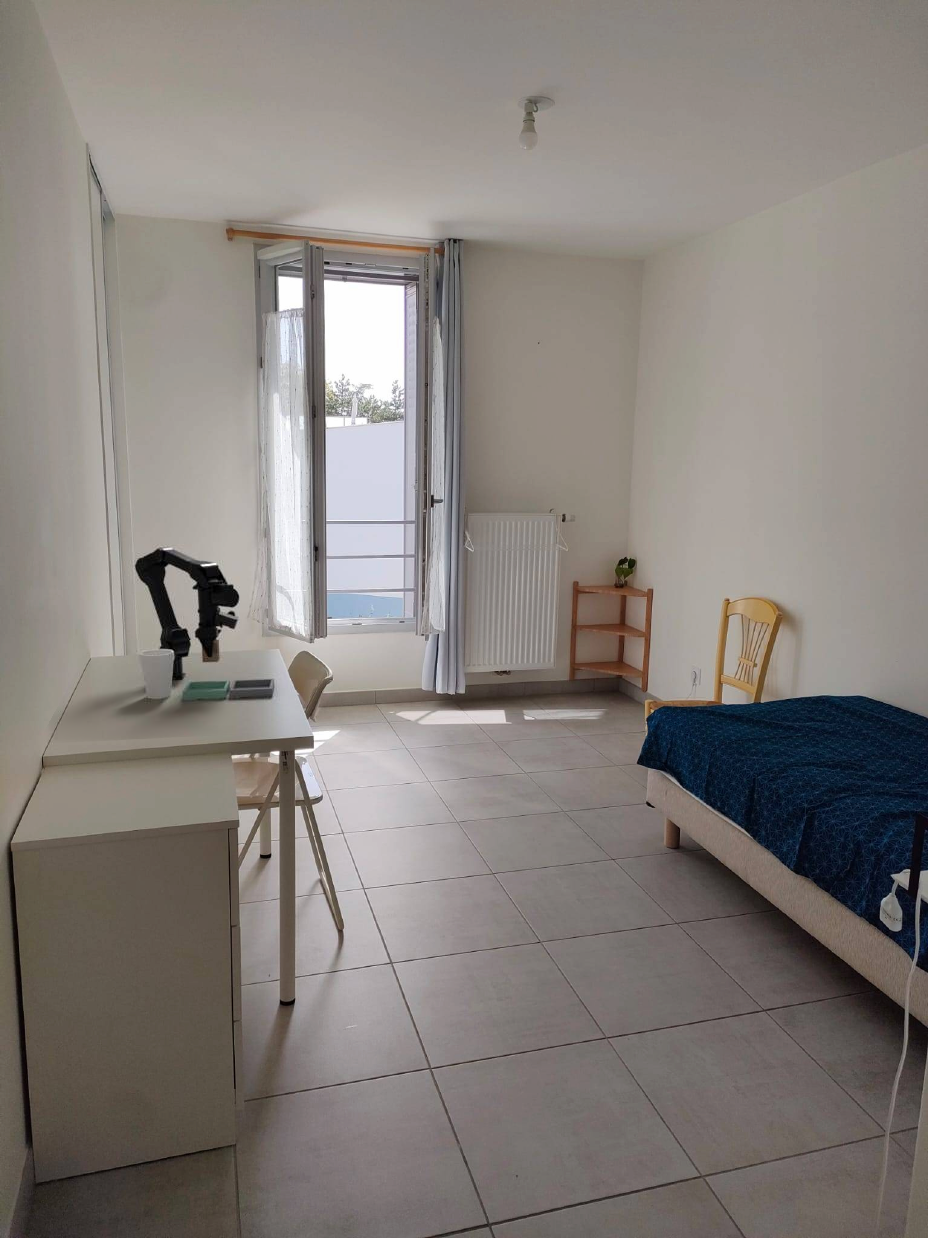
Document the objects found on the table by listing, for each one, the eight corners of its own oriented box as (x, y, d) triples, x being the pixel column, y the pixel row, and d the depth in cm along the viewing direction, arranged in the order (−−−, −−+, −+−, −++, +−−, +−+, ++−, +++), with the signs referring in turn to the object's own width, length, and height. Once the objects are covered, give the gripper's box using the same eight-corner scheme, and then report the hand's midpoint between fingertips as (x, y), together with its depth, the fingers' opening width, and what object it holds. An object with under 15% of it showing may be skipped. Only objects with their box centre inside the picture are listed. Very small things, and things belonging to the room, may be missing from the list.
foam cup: (181, 692, 259) (179, 649, 257) (168, 700, 250) (165, 656, 248) (150, 691, 260) (148, 648, 258) (136, 700, 251) (133, 655, 249)
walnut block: (204, 659, 269) (203, 640, 268) (219, 658, 270) (218, 639, 269) (202, 662, 265) (201, 642, 264) (218, 661, 266) (217, 642, 265)
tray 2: (233, 688, 264) (233, 680, 264) (274, 686, 266) (274, 678, 265) (229, 698, 252) (229, 690, 252) (272, 696, 254) (272, 688, 254)
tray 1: (188, 690, 262) (188, 681, 262) (230, 688, 264) (229, 680, 263) (182, 700, 250) (182, 692, 250) (226, 698, 252) (225, 690, 252)
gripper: (232, 609, 257) (235, 661, 259) (238, 599, 275) (240, 648, 277) (193, 610, 255) (196, 662, 258) (201, 600, 273) (204, 649, 276)
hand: (210, 655), depth 267 cm, fingers closed on walnut block, 4 cm apart
